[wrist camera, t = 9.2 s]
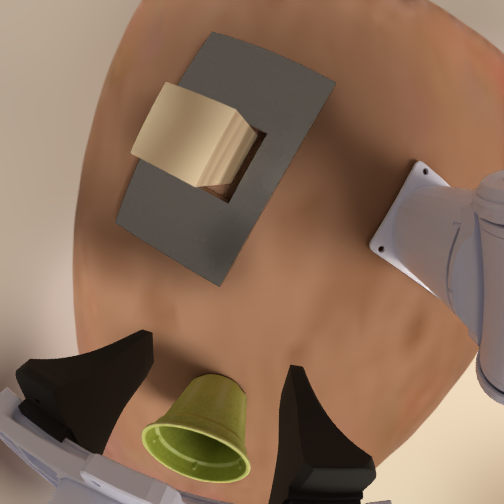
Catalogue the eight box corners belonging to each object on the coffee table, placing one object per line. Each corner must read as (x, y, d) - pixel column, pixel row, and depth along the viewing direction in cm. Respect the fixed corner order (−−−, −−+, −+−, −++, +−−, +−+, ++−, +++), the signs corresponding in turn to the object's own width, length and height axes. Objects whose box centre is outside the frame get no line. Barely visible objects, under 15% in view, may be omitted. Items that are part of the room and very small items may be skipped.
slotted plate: (333, 89, 17) (336, 83, 15) (224, 279, 22) (219, 287, 20) (217, 39, 17) (212, 31, 15) (124, 219, 22) (115, 222, 20)
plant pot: (173, 407, 27) (145, 461, 19) (176, 347, 24) (136, 408, 16) (251, 429, 26) (239, 490, 18) (272, 373, 24) (262, 447, 15)
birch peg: (257, 135, 19) (236, 109, 11) (231, 183, 20) (195, 187, 12) (211, 113, 19) (166, 81, 11) (186, 159, 20) (130, 153, 12)
